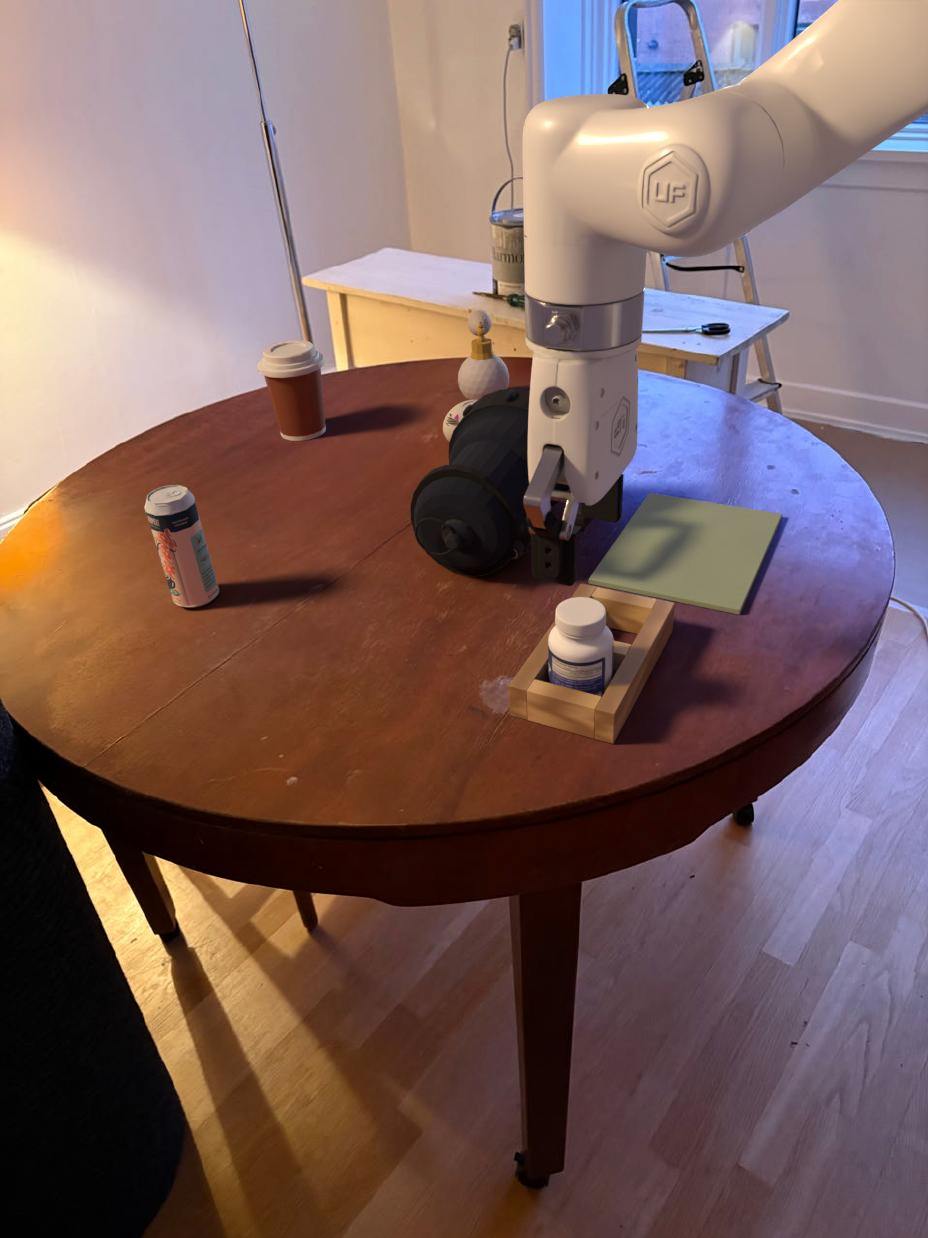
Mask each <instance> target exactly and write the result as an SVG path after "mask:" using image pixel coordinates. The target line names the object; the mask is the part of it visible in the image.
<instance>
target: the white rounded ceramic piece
mask: <svg viewBox="0 0 928 1238" xmlns="http://www.w3.org/2000/svg"><path fill="white" fill-rule="evenodd" d="M476 401H477V400H468V399H467V400H464V401H461V402H459V403H458V404H456V405H454V406H453V407H452V408H451V409H450V410H449V411H448V412H447V414H446V415H445V417H444V420H443V423H442V432H443V436H444V437H445V439H446V440H447V441H448V442H450V439H451V436H452V433H453V430H454V429H455V428H456V426H457V425H458V424H459V422H460V421H461V420H462V418H463V417H464V416H463V411H464V410H465V408H466V407H467V406H468V405H473V403H475V402H476Z"/></svg>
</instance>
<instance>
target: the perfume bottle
mask: <svg viewBox="0 0 928 1238" xmlns="http://www.w3.org/2000/svg"><path fill="white" fill-rule="evenodd" d="M466 323H467V328H468V330H469V331H470V334H472V335H474V336H476V337H477V338H474V339H472V340H471V341H470V342H471V344H470V345H471V353H470V355H469V356H468V357H467V358H466V359H465V360H463V362H462V364H461V365H460V367H459V370H458V372H457V374H458V375H457V376H458V377H457V383H458V388H459V390H460V391H461V394H462V395H463V396H464V398H465V399H467V401H468V400H479V399H480V398H482V397H483V396H484V395H487V394H489V393H492V392H495V391H498V390H503V389H509V384H510V373H509V370H508V369H509V368H508V367H507V365H506V363H505V362H504V361H503V359H502V358H501V357H500V356H498V355H497V354H495V353H494V350H493V340H492V339H491V338H488V337H486V336H485V335H487V334H488V333H490V330H491V328H492V318H491V315H490V314H489V313H488V312H486V311H485V310H483V309H476V310H474V311H472V312H471V313H470V314H469V315H468V318H467V322H466Z"/></svg>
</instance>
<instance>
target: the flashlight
mask: <svg viewBox="0 0 928 1238" xmlns="http://www.w3.org/2000/svg"><path fill="white" fill-rule="evenodd" d="M529 396H530V389H529V390H528V389H522V388H517V387H516V388H507V389H503V390H498V391H495V392H492V393H489V394H487V395H484V396H483V397H482V398H480V399H479V400H477V401H476V402H475V403H473V405H468V406H467V407H466V408H465V410H464V411H463V416H464V417H463V418H462V420H461V421H460V422H459V424H458V425H457V426H456V428H455V429H454V430H453V433H452V436H451V439H450V442H449V441H448V442H449V443H448V464H444V465H440V466H438V467H435V468H433V469H432V470H430V471H429V472H428V473H426V475H424V476H423V477H422V479H421V480H420V482H419V483H418V485H417V486H416V489H415V490H414V491H413V493H412V498H411V502H410V521H411V525H412V530H413V533H414V538H415V540H416V542H417V544H418V545H419V546H420V547H421V549H422V550H424V552H425V553H426V554H427V555H428V556H429V557H430V558H431V559H432V560H433V561H435V562H436V564H438V565H440V566H442V567H443V568H444V569H447V570H448V571H450V572H452V573H455V574H458V575H461V576H468V577H482V576H489V575H491V574H492V573H495V572H496V571H499V570H500V569H501V568H505V567H506V566H507V565H508V564H509V562H510V561H517V560H519V559H520V558H521V557H522V555H523V554H524V553H526V551H527V550H528V548H529V546H530V544H531V543H532V541H531V534H530V533H529V526H528V524H527V521H526V520H527V518H526V515H527V514H526V511H525V508H524V505H523V499H524V495H525V493H526V491H527V488H528V486H529V476H528V415H529ZM554 489H556V490H562V491H568V492H569V490H570V488H569V485H565V484H560V483H556V485H555V487H554ZM560 503H561V502H558V501H552V500H550V504H551V509H552V508H554V506H556V505H557V504H560ZM594 520H595V519H593V518H588V517H584V516H583V515H582V514H581V506H579V508H578V511H577V515H576V519H575V522H574V526H573V530H572V533H573V534H577V536H578V535H579V533H581V532H585V531H586V530H587V529H588V528H589V526H590V525H591V524H592V522H594Z"/></svg>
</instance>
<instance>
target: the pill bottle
mask: <svg viewBox="0 0 928 1238" xmlns="http://www.w3.org/2000/svg"><path fill="white" fill-rule="evenodd" d="M554 617H555V618H554V621H555V624H556V626H555V627H554V628H553V629H552V630H551V632H550V634H549V638H548V659H549V660H548V661H549V683H551V684H555V685H559V686H563V687H566V688H570V689H574V690H578V691H582V692H586V693H590V694H593V695H597V696H601V697H602V696H603V695H604V693H605V691H606V689H607V688H608V686H609V684H610V682H611V681H612V679H613V649H614V641H615V640H614V635H613V633H612V631H611V628H609V627H607V626H606V609H605V607H604V606H603V604H602V603H600V602H599V601H597V600H594V599H591V598H586V597H575V598H571V597H570V598H567V599H564V600H563V601H560V602H559V604H558V605H557V606H556V607H555V615H554ZM613 640H614V641H613Z"/></svg>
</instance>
